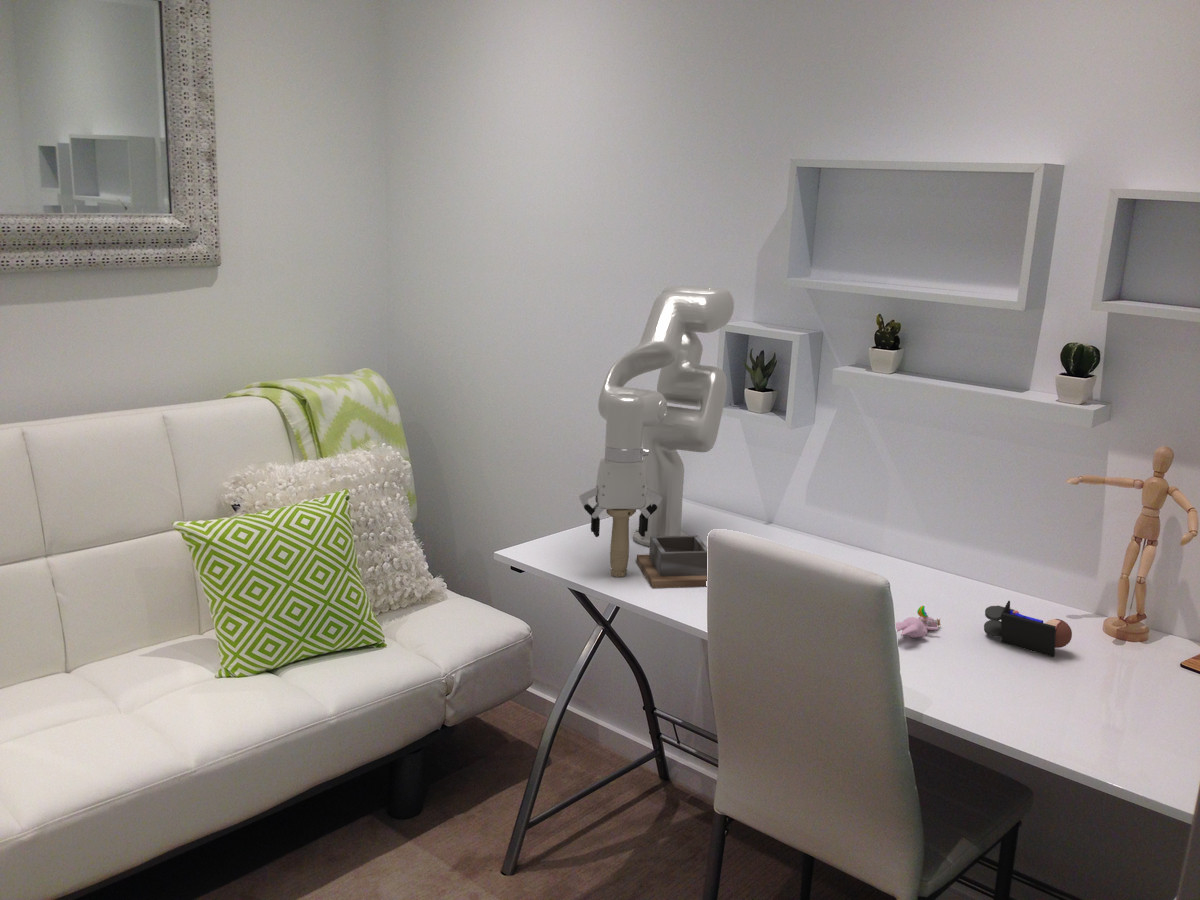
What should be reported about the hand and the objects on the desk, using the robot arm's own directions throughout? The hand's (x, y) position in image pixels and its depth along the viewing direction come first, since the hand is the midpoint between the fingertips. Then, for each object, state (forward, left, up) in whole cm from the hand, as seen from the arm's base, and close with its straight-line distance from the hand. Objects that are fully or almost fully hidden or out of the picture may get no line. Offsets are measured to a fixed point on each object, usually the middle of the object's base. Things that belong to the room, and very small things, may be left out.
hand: (618, 534), depth 216 cm
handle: (-1, 0, -9) cm, 9 cm away
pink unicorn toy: (+35, +50, -10) cm, 62 cm away
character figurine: (+41, +68, -9) cm, 80 cm away
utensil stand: (-1, +13, -9) cm, 16 cm away
